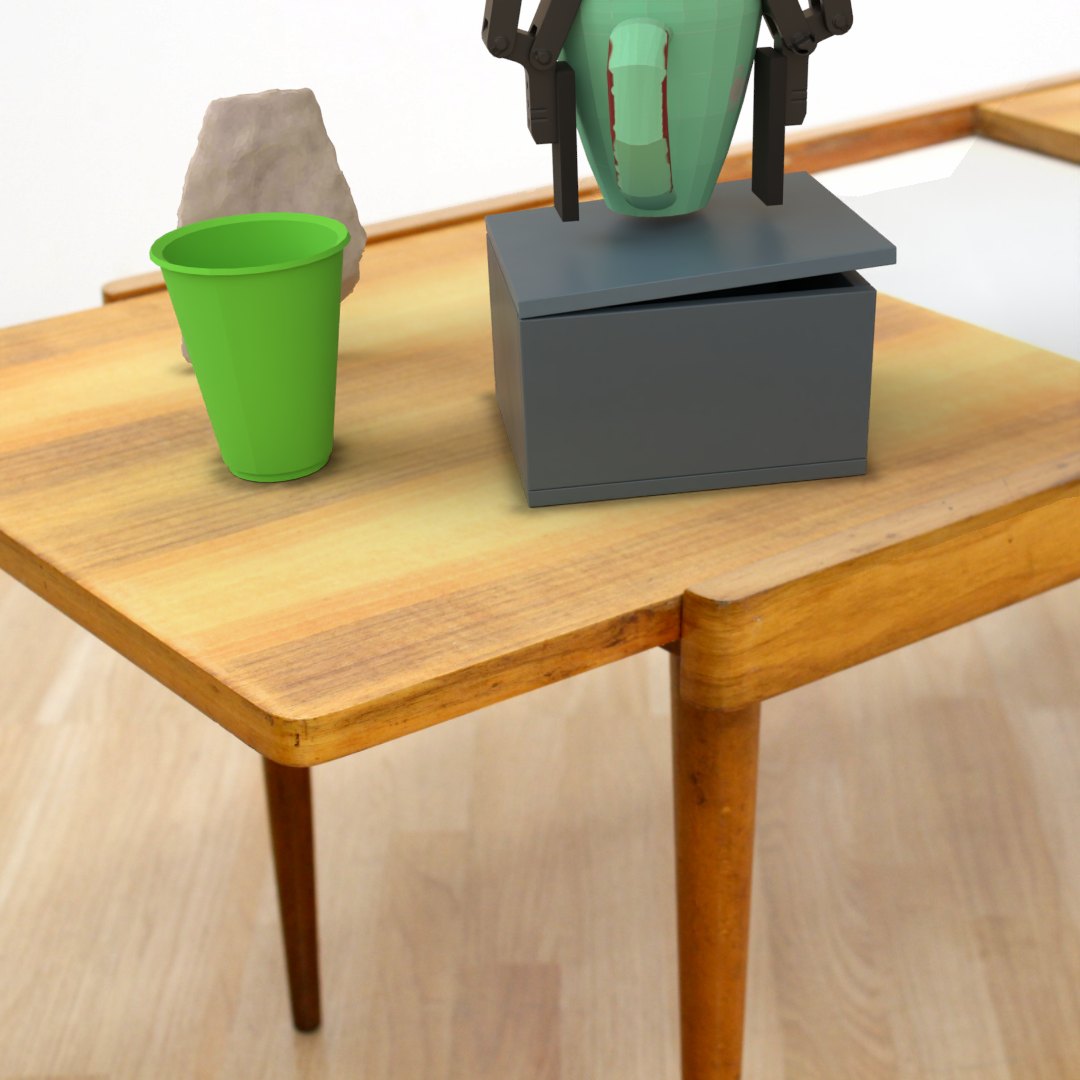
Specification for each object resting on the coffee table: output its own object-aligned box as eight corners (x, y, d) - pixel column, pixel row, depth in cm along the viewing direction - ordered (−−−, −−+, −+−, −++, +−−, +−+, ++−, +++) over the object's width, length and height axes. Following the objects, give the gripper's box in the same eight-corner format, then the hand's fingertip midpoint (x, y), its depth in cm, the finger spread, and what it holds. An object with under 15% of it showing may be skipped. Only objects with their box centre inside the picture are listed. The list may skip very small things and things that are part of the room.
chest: (784, 369, 83) (790, 207, 79) (866, 474, 71) (877, 289, 67) (495, 396, 81) (485, 231, 77) (529, 507, 69) (519, 320, 65)
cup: (396, 428, 78) (376, 213, 73) (335, 507, 70) (308, 272, 65) (230, 419, 80) (199, 209, 75) (152, 495, 72) (112, 266, 67)
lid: (806, 185, 79) (805, 170, 78) (897, 264, 66) (897, 246, 66) (486, 231, 77) (484, 215, 77) (520, 319, 65) (518, 301, 65)
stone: (181, 373, 86) (137, 99, 79) (195, 352, 89) (154, 86, 82) (373, 368, 86) (346, 91, 79) (381, 347, 89) (356, 79, 82)
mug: (565, 178, 78) (557, -31, 74) (762, 175, 77) (766, -38, 72) (526, 265, 65) (513, 18, 61) (761, 264, 64) (766, 11, 59)
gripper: (897, -369, 65) (867, 168, 75) (386, -349, 63) (428, 202, 73) (964, -383, 58) (921, 209, 69) (396, -360, 56) (440, 247, 67)
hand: (667, 205), depth 71 cm, fingers closed on mug, 9 cm apart
